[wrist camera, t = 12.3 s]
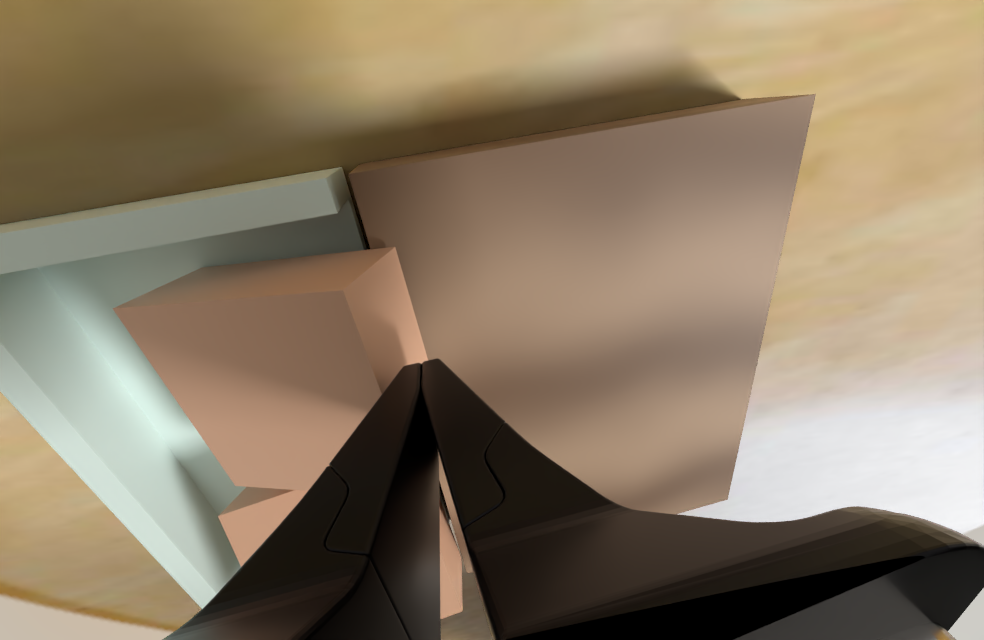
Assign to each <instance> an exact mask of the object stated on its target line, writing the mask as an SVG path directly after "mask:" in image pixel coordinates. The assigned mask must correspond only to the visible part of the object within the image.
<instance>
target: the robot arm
mask: <svg viewBox="0 0 984 640" xmlns="http://www.w3.org/2000/svg"><path fill="white" fill-rule="evenodd" d="M438 452H439V453H438ZM439 455H440V459H441V462H442V466H443V469H444V473H445V476H446V480H447V483H448V487H449V490H450V494H451V497H452V500H453V504H454V507H455V511H456V514H457V518H458V521H459V525H460V528H461V532H462V535H463V539H464V542H465V546H466V549H467V552H468V556H469V559H470V563H471V566H472V570H473V573H474V577H475V580H476V584H477V587H478V591H479V594H480V598H481V601H482V604H483V608H484V611H485V615H486V618H487V622H488V625H489V629H490V632H491V636H492V639H493V640H956V639H955V638H954V637H953V636H952V635H951V634H950V633H949V632H948V630H949V629H950V628H951V627H952V626H953V624H954V623H955V622H956V621H957V619H958V618H959V617H960V616H961V615H962V613H963V612H964V611H965V610H966V608H967V607H968V606H969V605H970V603H971V602H972V601H973V600H974V599H975V597H976V596H977V595H978V594H979V592H980V591H981V590H982V589H983V588H984V545H982V544H980V543H978V542H976V541H974V540H972V539H970V538H968V537H966V536H964V535H962V534H961V533H959V532H957V531H954V530H952V529H949V528H947V527H944V526H942V525H939V524H936V523H933V522H931V521H928V520H925V519H921V518H918V517H914V516H910V515H907V514H900V513H894V512H890V511H886V510H880V509H874V508H868V507H846V508H841V509H836V510H832V511H829V512H825V513H822V514H818V515H815V516H812V517H808V518H803V519H798V520H793V521H784V522H740V521H730V520H722V519H713V518H704V517H695V516H686V515H677V514H668V513H659V512H650V511H641V510H634V509H630V508H627V507H624V506H622V505H619V504H617V503H615V502H613V501H611V500H609V499H608V498H606V497H604V496H603V495H601V494H600V493H598V492H597V491H595V490H594V489H593V488H591V487H590V486H588V485H587V484H585V483H584V482H583V481H581V480H580V479H578V478H577V477H575V476H574V475H573V474H571V473H570V472H568V471H567V470H565V469H564V468H563V467H561V466H560V465H558V464H557V463H555V462H554V461H553V460H551V459H550V458H548V457H547V456H546V455H544V454H543V453H542V452H540V451H539V450H538V449H536V448H535V447H534V446H532V445H531V444H530V443H529V442H528V441H526V440H525V439H524V438H523V437H522V436H521V435H520V434H518V433H517V432H516V431H515V430H514V429H513V428H512V427H511V426H510V425H509V424H508V423H506V422H505V420H503V419H502V418H501V417H500V416H499V415H498V414H497V413H496V412H495V411H494V410H493V409H492V408H491V407H490V406H489V405H488V404H487V403H486V402H485V401H484V400H482V399H481V398H480V397H479V396H478V395H477V394H476V393H475V392H474V391H473V390H472V389H471V388H470V387H469V386H468V385H467V384H466V383H465V382H464V381H463V380H462V379H460V378H459V377H458V376H457V375H456V374H455V373H454V372H453V371H452V370H451V369H450V368H449V367H448V366H447V365H446V364H445V363H444V362H443V361H442V360H440V359H439V358H436V359H432V360H427V361H424V362H423V363H422V364H421V363H414V364H409V365H405V366H403V367H402V369H401V370H400V371H399V372H398V374H397V375H396V376H395V378H394V379H393V380H392V382H391V383H390V384H389V386H388V387H387V388H386V390H385V391H384V392H383V394H382V395H381V396H380V397H379V399H378V400H377V401H376V403H375V404H374V405H373V407H372V408H371V409H370V411H369V412H368V413H367V415H366V416H365V417H364V419H363V420H362V421H361V423H360V424H359V425H358V426H357V428H356V429H355V430H354V432H353V433H352V434H351V436H350V437H349V438H348V440H347V441H346V442H345V444H344V445H343V446H342V448H341V449H340V450H339V451H338V453H337V454H336V455H335V457H334V458H333V459H332V461H331V462H330V463H329V466H327V467H326V468H325V470H324V471H323V472H322V474H321V475H320V476H319V478H318V479H317V480H316V481H315V483H314V484H313V485H312V486H311V488H310V489H309V490H308V491H307V493H306V494H305V495H304V496H303V498H302V499H301V500H300V501H299V503H298V504H297V505H296V506H295V507H294V508H293V510H292V511H291V512H290V513H289V514H288V515H287V517H286V518H285V519H284V520H283V521H282V522H281V523H280V525H279V526H278V527H277V528H276V529H275V530H274V531H273V532H272V534H271V535H270V536H269V537H268V538H267V539H266V540H265V541H264V542H263V543H262V545H261V546H260V547H259V548H258V549H257V550H256V551H255V552H254V553H253V554H252V556H251V557H250V558H249V559H248V560H247V561H246V562H245V563H244V564H243V566H242V567H241V568H240V569H239V570H238V571H237V572H236V573H235V574H234V575H233V577H232V578H231V579H230V580H229V581H228V582H227V583H226V584H225V585H224V587H223V588H222V589H221V590H220V591H219V592H218V593H217V594H216V595H215V596H214V597H213V598H212V599H211V601H210V602H209V603H208V604H207V605H206V606H205V607H204V608H203V609H202V610H201V611H199V612H198V613H197V614H196V615H195V616H194V617H193V618H192V619H191V620H189V621H188V622H187V623H185V624H184V625H183V626H182V627H180V628H179V629H178V630H176V631H175V632H173V633H172V634H170V635H169V636H167V637H166V638H164V639H163V640H441V624H440V507H439Z"/></svg>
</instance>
